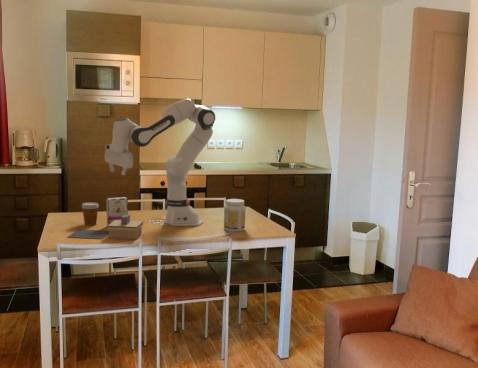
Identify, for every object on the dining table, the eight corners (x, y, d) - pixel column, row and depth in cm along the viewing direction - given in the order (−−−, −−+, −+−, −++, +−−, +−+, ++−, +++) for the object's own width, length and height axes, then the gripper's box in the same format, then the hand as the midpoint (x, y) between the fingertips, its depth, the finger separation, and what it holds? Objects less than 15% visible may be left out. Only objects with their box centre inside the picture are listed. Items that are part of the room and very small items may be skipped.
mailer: (141, 233, 263) (141, 222, 262) (135, 239, 251) (135, 228, 250) (115, 232, 263) (115, 221, 262) (108, 238, 251) (108, 226, 250)
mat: (111, 231, 265) (111, 230, 265) (101, 239, 250) (101, 238, 249) (78, 229, 266) (78, 229, 266) (67, 237, 250) (67, 236, 250)
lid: (143, 224, 263) (143, 213, 262) (136, 230, 249) (136, 219, 248) (114, 223, 263) (114, 212, 262) (107, 229, 250) (107, 218, 249)
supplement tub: (237, 226, 287) (238, 197, 284) (249, 230, 277) (250, 201, 274) (219, 228, 280) (220, 199, 278) (230, 233, 270) (231, 203, 268)
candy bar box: (125, 224, 281) (125, 196, 278) (128, 226, 277) (128, 198, 274) (106, 226, 276) (105, 197, 273) (108, 228, 271) (107, 199, 269)
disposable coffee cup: (102, 224, 279) (102, 204, 277) (87, 227, 272) (87, 206, 270) (93, 221, 285) (93, 201, 284) (78, 224, 278) (78, 203, 277)
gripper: (136, 151, 261) (134, 176, 263) (112, 145, 273) (110, 169, 275) (127, 151, 256) (125, 177, 258) (103, 145, 268) (101, 169, 270)
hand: (117, 173), depth 267 cm, fingers open, 8 cm apart
